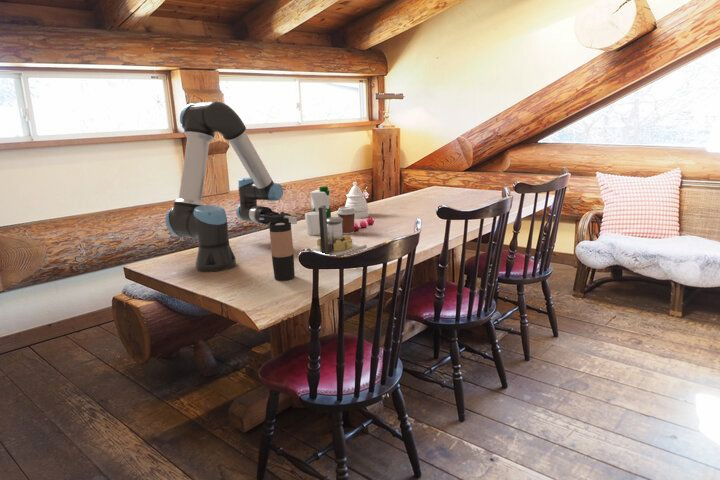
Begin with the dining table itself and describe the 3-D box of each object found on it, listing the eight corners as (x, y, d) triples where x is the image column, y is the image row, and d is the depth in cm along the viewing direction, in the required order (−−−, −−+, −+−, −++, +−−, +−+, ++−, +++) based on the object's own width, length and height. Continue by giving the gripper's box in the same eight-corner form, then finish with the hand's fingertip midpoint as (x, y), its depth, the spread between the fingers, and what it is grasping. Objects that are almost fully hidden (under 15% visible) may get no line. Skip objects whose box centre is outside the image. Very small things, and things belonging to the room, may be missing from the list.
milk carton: (326, 228, 262) (324, 188, 257) (310, 227, 265) (307, 188, 260) (334, 224, 270) (331, 185, 265) (318, 224, 273) (315, 185, 268)
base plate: (329, 258, 210) (329, 255, 210) (302, 251, 222) (302, 249, 222) (366, 246, 225) (365, 244, 225) (338, 241, 237) (338, 238, 236)
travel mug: (269, 280, 187) (264, 224, 182) (280, 273, 194) (275, 220, 189) (289, 281, 184) (284, 225, 179) (299, 275, 191) (294, 220, 186)
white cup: (320, 235, 248) (319, 214, 246) (304, 235, 250) (302, 214, 247) (324, 231, 256) (323, 211, 253) (309, 231, 257) (307, 211, 255)
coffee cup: (334, 234, 249) (333, 209, 246) (342, 230, 257) (340, 205, 254) (352, 235, 246) (351, 210, 243) (359, 230, 254) (358, 206, 251)
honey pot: (344, 214, 295) (342, 182, 290) (367, 212, 296) (365, 180, 291) (346, 219, 282) (344, 185, 278) (370, 217, 283) (368, 183, 279)
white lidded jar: (334, 252, 218) (332, 221, 215) (322, 249, 223) (320, 219, 220) (347, 248, 223) (346, 218, 220) (335, 246, 228) (333, 216, 225)
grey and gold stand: (362, 253, 211) (360, 203, 206) (322, 259, 206) (318, 208, 201) (346, 241, 231) (343, 195, 226) (309, 245, 227) (306, 199, 222)
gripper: (274, 220, 238) (308, 227, 222) (249, 225, 229) (283, 232, 213) (273, 204, 236) (307, 209, 220) (248, 208, 227) (281, 214, 211)
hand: (295, 220), depth 217 cm, fingers closed
